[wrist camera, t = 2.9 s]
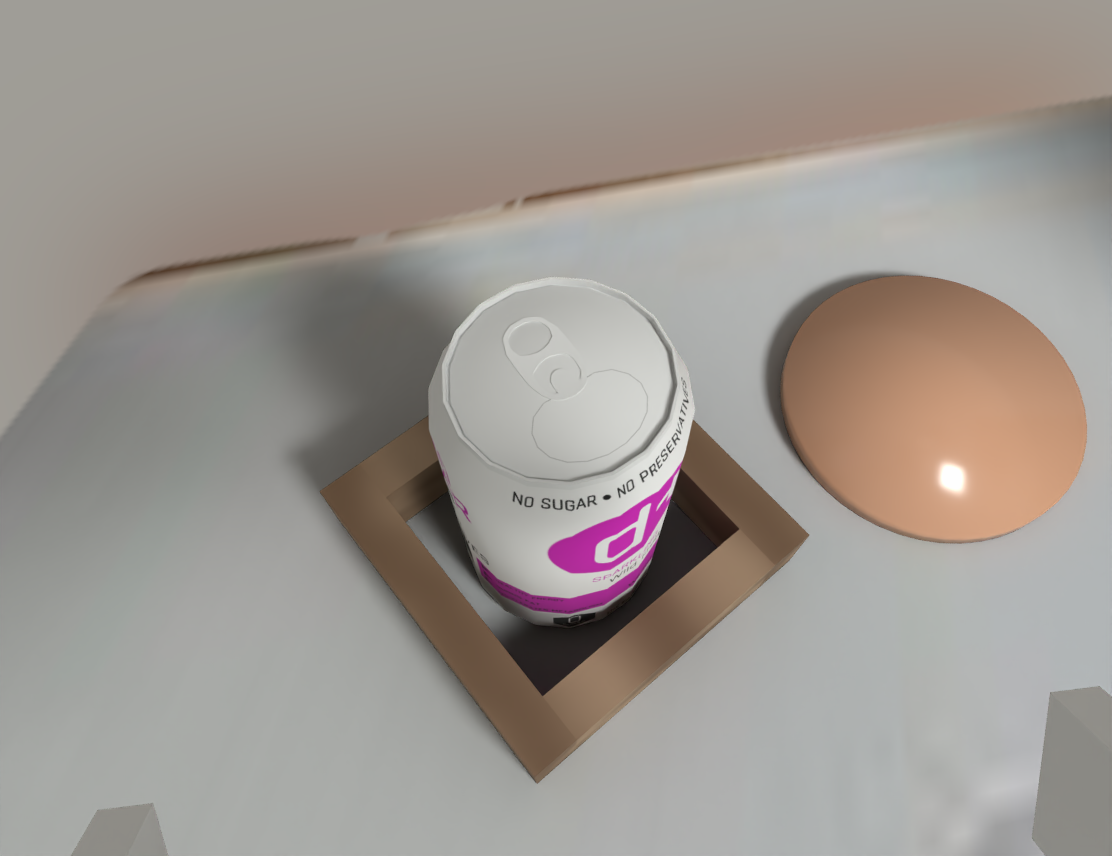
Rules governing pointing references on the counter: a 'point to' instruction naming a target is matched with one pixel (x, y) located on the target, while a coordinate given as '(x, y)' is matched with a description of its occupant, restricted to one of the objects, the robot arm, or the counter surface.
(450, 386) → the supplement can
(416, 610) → the walnut collar
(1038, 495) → the terracotta disc
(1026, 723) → the counter surface
